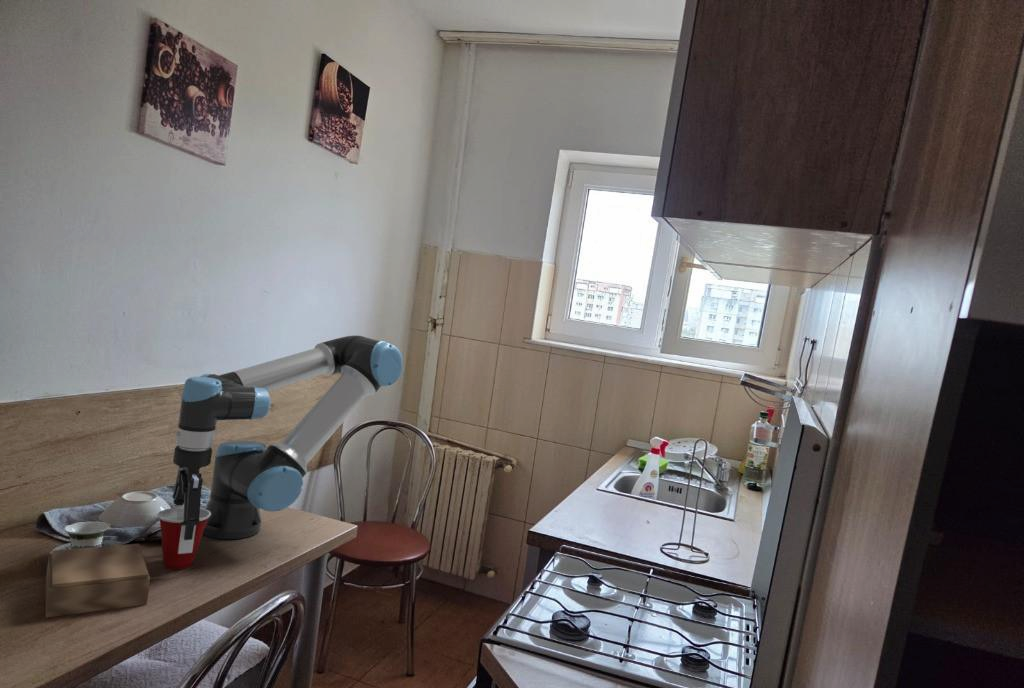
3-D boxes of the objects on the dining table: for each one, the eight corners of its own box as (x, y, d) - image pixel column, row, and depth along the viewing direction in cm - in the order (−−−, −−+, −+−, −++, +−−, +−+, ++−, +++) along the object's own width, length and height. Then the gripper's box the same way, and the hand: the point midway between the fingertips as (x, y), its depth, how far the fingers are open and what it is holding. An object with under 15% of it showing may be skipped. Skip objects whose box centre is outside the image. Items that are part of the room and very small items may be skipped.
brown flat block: (137, 569, 136) (141, 542, 136) (146, 604, 124) (150, 574, 123) (45, 578, 127) (49, 550, 126) (45, 617, 114) (49, 585, 114)
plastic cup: (194, 550, 150) (201, 501, 149) (211, 569, 142) (218, 517, 141) (143, 558, 142) (151, 506, 141) (158, 578, 134) (165, 523, 134)
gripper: (167, 433, 147) (154, 524, 149) (184, 462, 129) (169, 565, 130) (202, 433, 152) (189, 522, 153) (223, 461, 133) (209, 562, 135)
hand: (180, 542), depth 142 cm, fingers closed on plastic cup, 11 cm apart
